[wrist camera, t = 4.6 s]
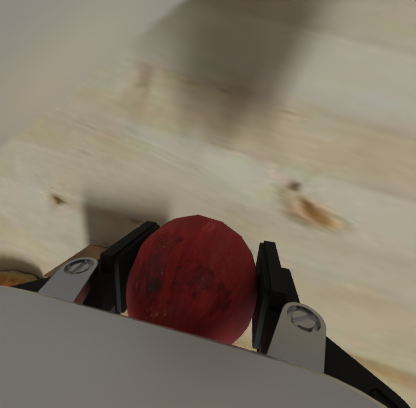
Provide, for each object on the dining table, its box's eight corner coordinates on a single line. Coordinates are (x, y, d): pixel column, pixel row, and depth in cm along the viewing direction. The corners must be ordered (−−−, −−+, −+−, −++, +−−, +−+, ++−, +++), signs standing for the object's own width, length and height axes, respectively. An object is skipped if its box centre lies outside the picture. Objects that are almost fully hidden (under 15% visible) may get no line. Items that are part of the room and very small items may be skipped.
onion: (158, 208, 13) (22, 296, 5) (245, 190, 11) (233, 278, 4) (182, 283, 14) (102, 441, 6) (263, 277, 12) (282, 474, 5)
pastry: (35, 260, 26) (1, 279, 22) (59, 300, 27) (31, 324, 24) (-12, 271, 28) (-50, 290, 24) (12, 308, 30) (-19, 331, 26)
